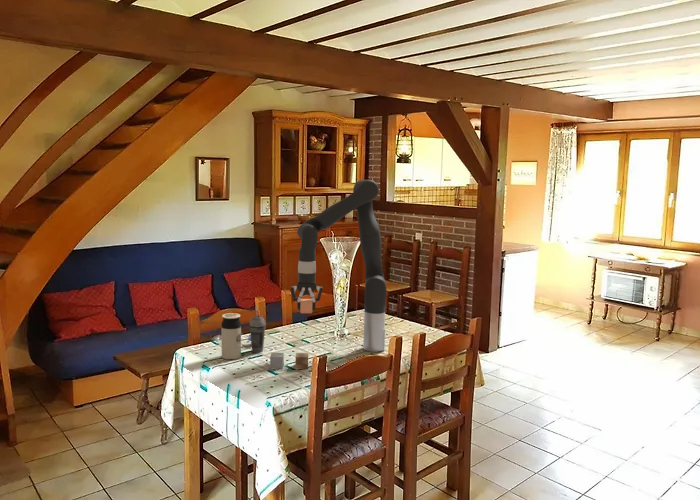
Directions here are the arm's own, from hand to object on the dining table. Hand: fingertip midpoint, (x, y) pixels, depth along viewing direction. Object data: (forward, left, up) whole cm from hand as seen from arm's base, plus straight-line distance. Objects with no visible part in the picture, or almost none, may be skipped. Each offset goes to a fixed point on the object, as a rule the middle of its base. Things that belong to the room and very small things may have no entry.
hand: (306, 310), depth 245 cm
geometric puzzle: (+23, -12, -20) cm, 33 cm away
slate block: (+11, +16, -19) cm, 28 cm away
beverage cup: (+21, -3, -20) cm, 29 cm away
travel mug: (+31, +5, -20) cm, 37 cm away
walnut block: (+1, +16, -19) cm, 25 cm away
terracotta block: (0, 0, -1) cm, 1 cm away
